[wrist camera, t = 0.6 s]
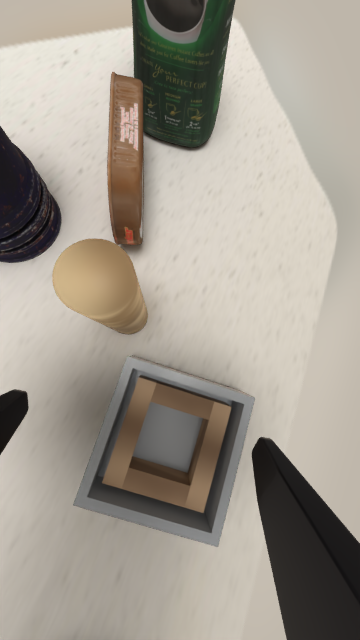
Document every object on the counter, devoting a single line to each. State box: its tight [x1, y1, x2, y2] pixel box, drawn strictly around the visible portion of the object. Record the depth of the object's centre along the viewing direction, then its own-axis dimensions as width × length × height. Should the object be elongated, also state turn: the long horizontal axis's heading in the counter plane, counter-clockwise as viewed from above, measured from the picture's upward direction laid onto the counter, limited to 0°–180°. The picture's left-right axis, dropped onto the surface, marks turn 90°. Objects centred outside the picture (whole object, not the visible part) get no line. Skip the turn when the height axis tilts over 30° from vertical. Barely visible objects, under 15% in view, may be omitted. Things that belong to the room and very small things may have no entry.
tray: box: [73, 355, 255, 547], centre depth 19 cm, size 12×12×4 cm
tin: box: [107, 72, 144, 245], centre depth 20 cm, size 15×3×8 cm, turn 1°
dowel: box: [52, 239, 148, 334], centre depth 17 cm, size 4×4×12 cm
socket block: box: [102, 375, 232, 513], centre depth 20 cm, size 9×9×2 cm
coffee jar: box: [132, 0, 235, 147], centre depth 17 cm, size 10×8×19 cm
